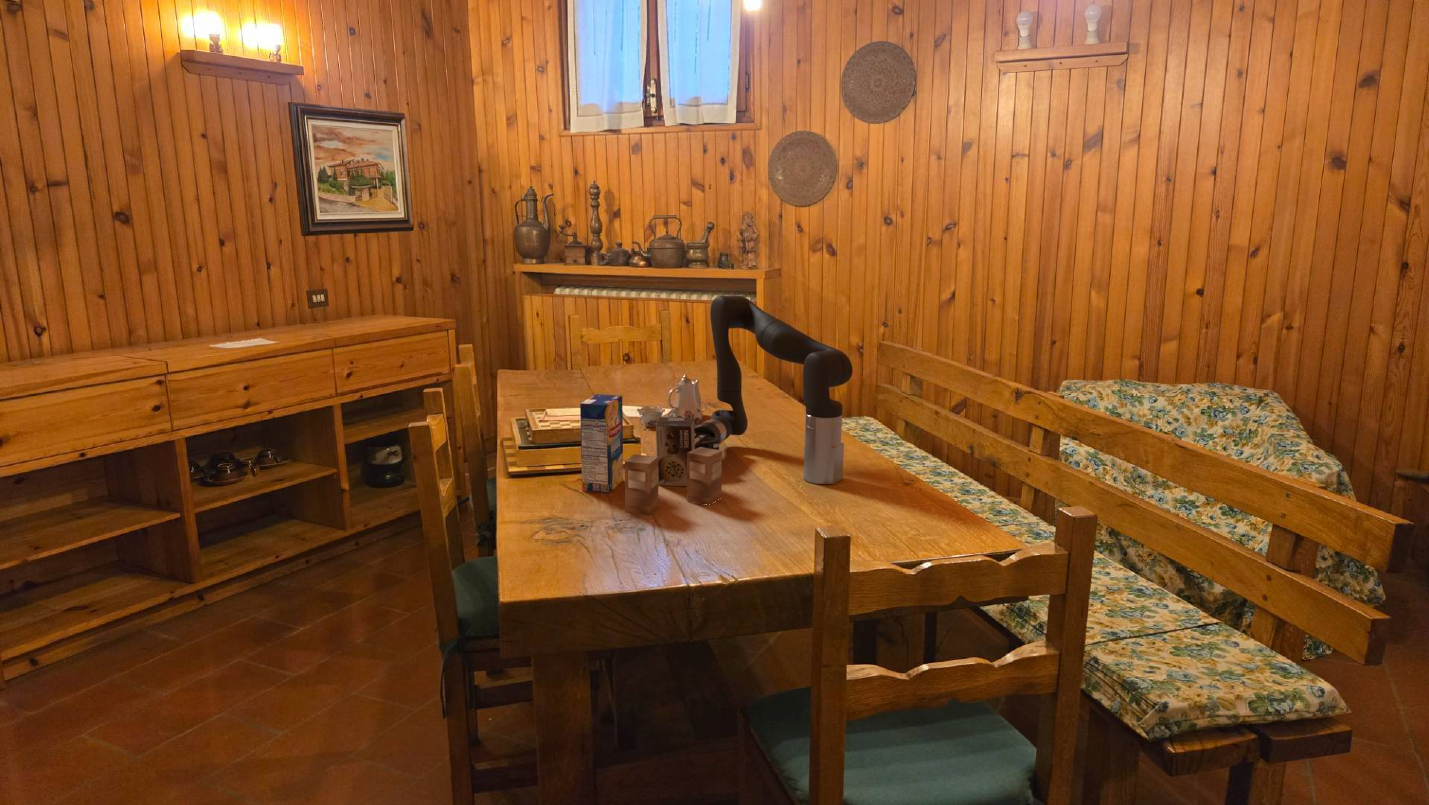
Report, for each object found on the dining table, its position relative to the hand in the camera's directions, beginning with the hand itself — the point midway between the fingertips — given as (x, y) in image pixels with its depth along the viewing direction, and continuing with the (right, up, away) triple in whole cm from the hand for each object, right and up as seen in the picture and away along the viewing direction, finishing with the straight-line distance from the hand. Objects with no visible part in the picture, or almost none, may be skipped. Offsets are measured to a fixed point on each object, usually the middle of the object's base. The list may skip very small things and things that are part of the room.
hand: (684, 450), depth 237 cm
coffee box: (-2, -8, -1) cm, 8 cm away
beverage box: (-20, -9, -4) cm, 22 cm away
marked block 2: (+5, -11, -14) cm, 18 cm away
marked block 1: (-9, -12, -20) cm, 25 cm away
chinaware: (-4, +5, +59) cm, 60 cm away
